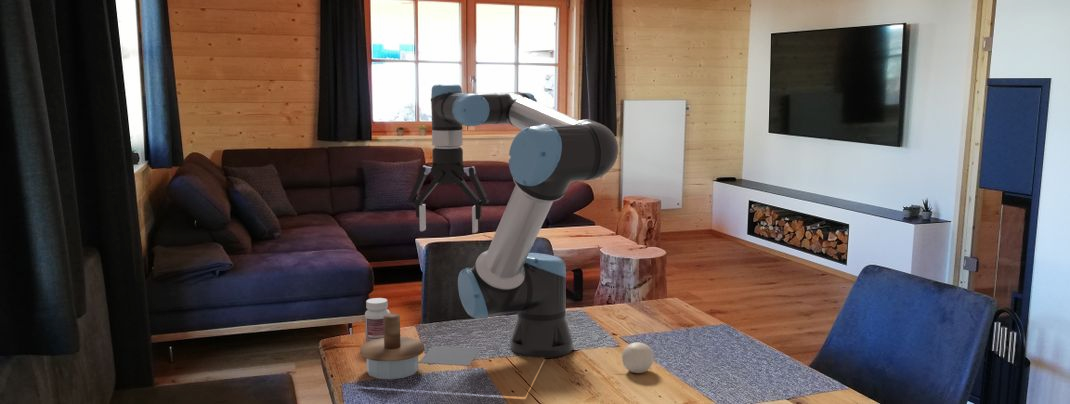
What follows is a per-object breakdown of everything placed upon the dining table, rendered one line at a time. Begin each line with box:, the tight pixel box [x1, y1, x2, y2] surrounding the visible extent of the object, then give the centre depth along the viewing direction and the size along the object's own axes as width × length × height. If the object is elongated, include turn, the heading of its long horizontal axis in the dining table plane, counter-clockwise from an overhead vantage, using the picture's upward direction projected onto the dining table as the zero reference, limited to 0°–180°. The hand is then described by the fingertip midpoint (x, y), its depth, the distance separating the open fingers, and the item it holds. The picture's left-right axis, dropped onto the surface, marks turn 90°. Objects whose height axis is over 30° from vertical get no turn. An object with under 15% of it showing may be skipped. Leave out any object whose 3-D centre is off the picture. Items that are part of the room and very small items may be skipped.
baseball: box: [621, 341, 654, 374], centre depth 191 cm, size 7×7×7 cm
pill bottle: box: [364, 297, 391, 343], centre depth 210 cm, size 6×6×11 cm
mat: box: [418, 345, 482, 367], centre depth 201 cm, size 12×12×1 cm
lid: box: [359, 313, 425, 361], centre depth 190 cm, size 14×14×8 cm
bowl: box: [366, 356, 419, 380], centre depth 191 cm, size 11×11×5 cm
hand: (448, 231), depth 216 cm, fingers open, 13 cm apart
